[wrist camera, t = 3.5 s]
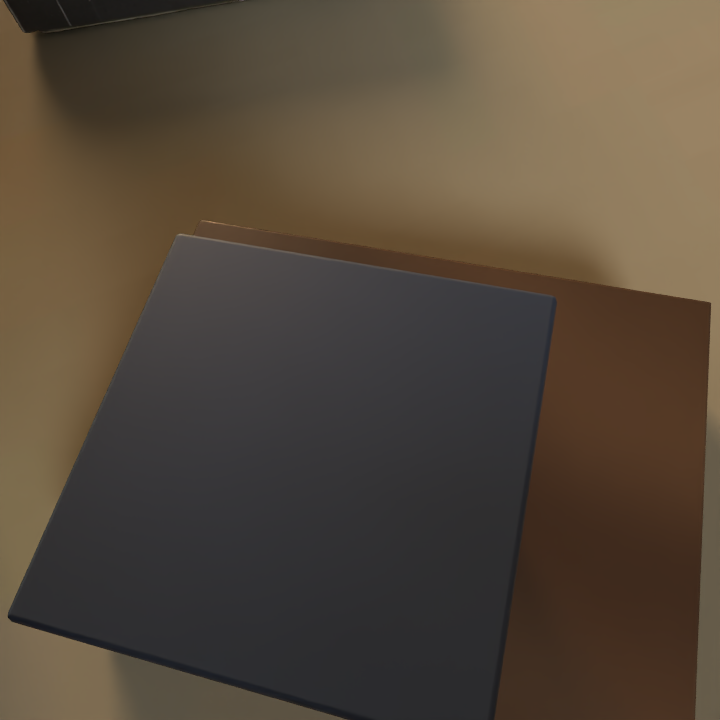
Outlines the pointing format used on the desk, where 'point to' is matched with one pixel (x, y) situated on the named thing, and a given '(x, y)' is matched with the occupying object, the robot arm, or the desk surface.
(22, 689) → the desk surface
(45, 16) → the disk drive
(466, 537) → the small box
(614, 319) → the brown flat block
